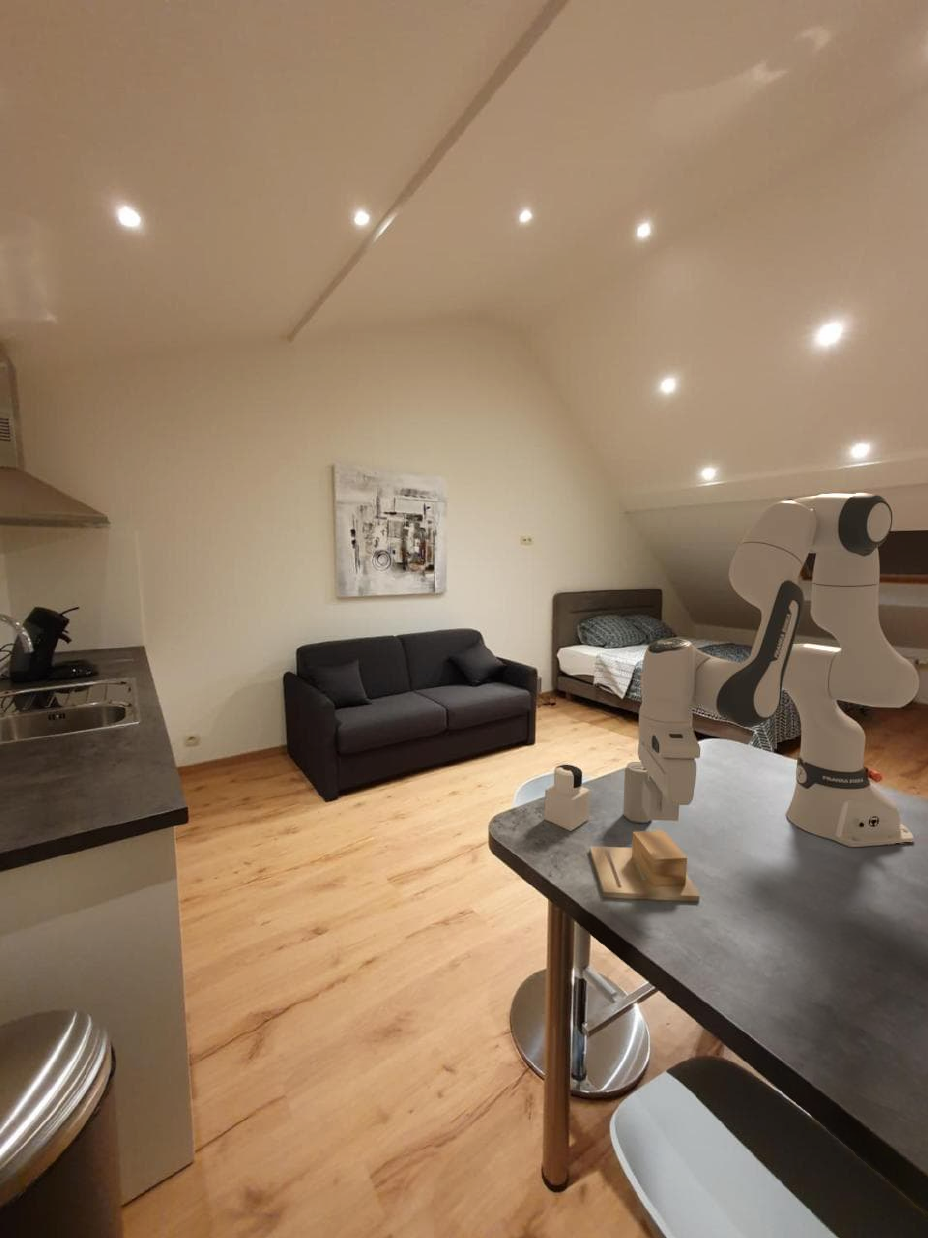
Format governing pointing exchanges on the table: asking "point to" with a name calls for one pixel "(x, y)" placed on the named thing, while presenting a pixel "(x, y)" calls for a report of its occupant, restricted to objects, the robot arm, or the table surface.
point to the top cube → (655, 803)
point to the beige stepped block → (567, 798)
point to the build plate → (633, 878)
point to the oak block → (659, 858)
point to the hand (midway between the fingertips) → (660, 804)
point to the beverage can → (634, 792)
